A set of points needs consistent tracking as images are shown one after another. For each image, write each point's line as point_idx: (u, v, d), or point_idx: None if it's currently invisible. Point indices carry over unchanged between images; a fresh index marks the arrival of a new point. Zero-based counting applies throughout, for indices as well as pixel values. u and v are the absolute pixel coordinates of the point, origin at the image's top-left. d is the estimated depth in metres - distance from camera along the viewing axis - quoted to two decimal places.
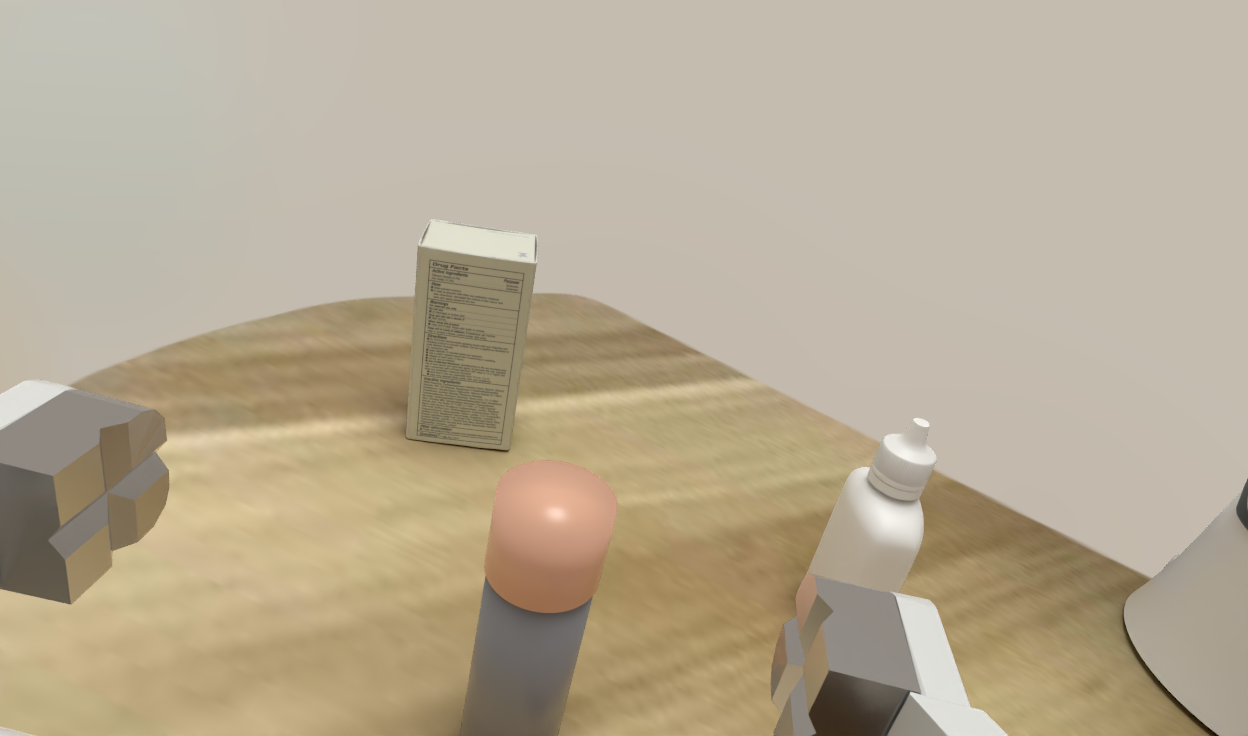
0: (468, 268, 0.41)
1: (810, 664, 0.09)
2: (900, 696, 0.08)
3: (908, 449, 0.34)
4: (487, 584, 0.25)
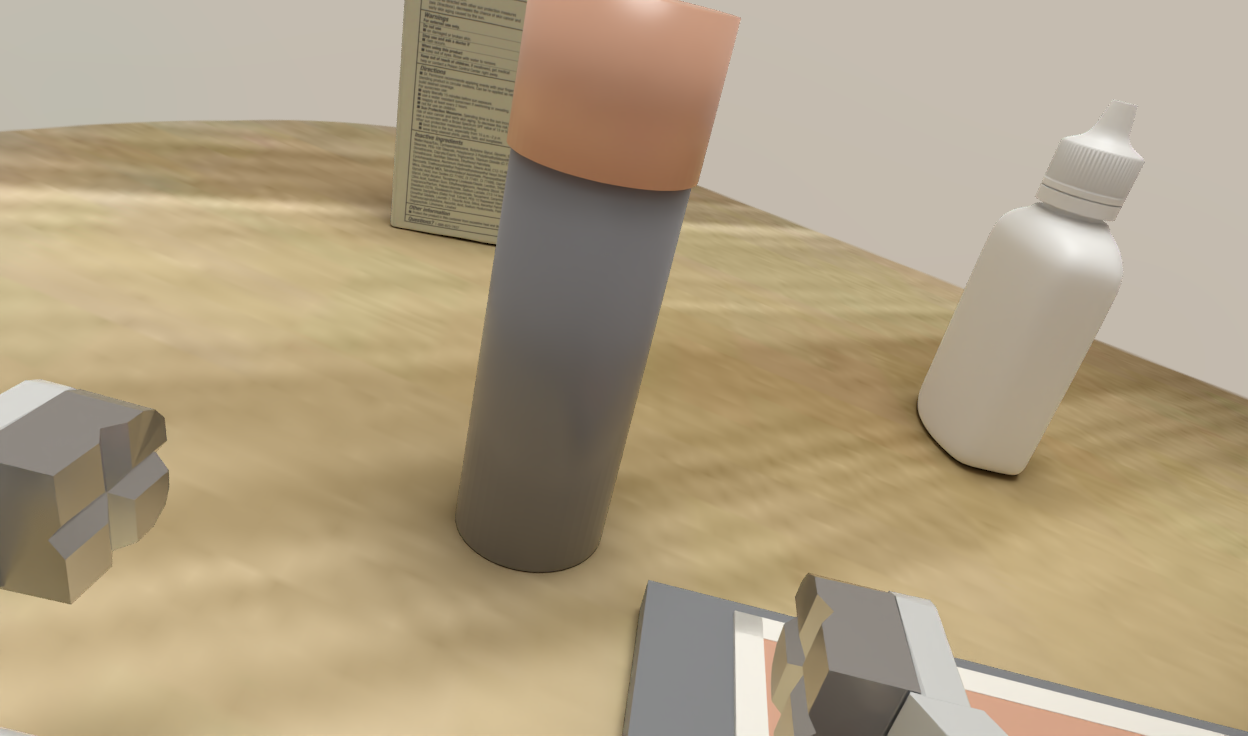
0: None
1: (810, 664, 0.09)
2: (900, 696, 0.08)
3: (1106, 140, 0.24)
4: (511, 167, 0.15)
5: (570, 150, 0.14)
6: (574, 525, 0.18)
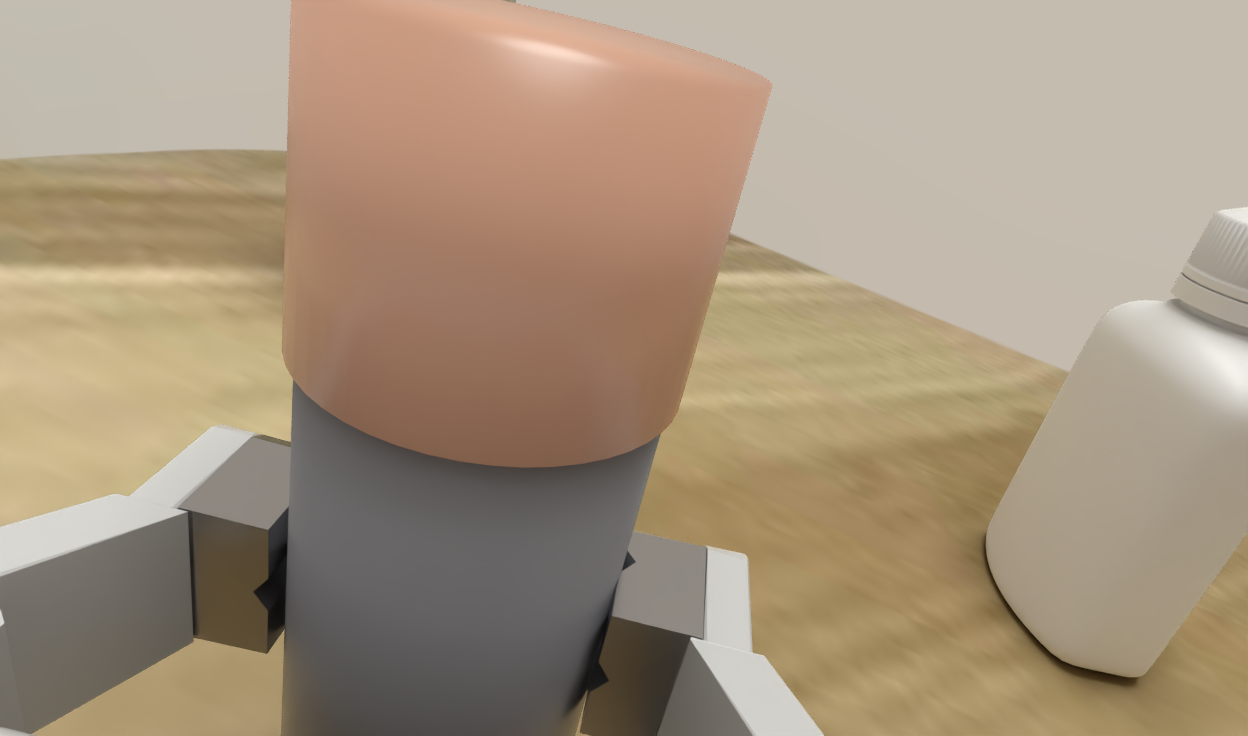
0: None
1: (609, 613, 0.09)
2: (683, 641, 0.08)
3: None
4: None
5: (383, 393, 0.06)
6: None
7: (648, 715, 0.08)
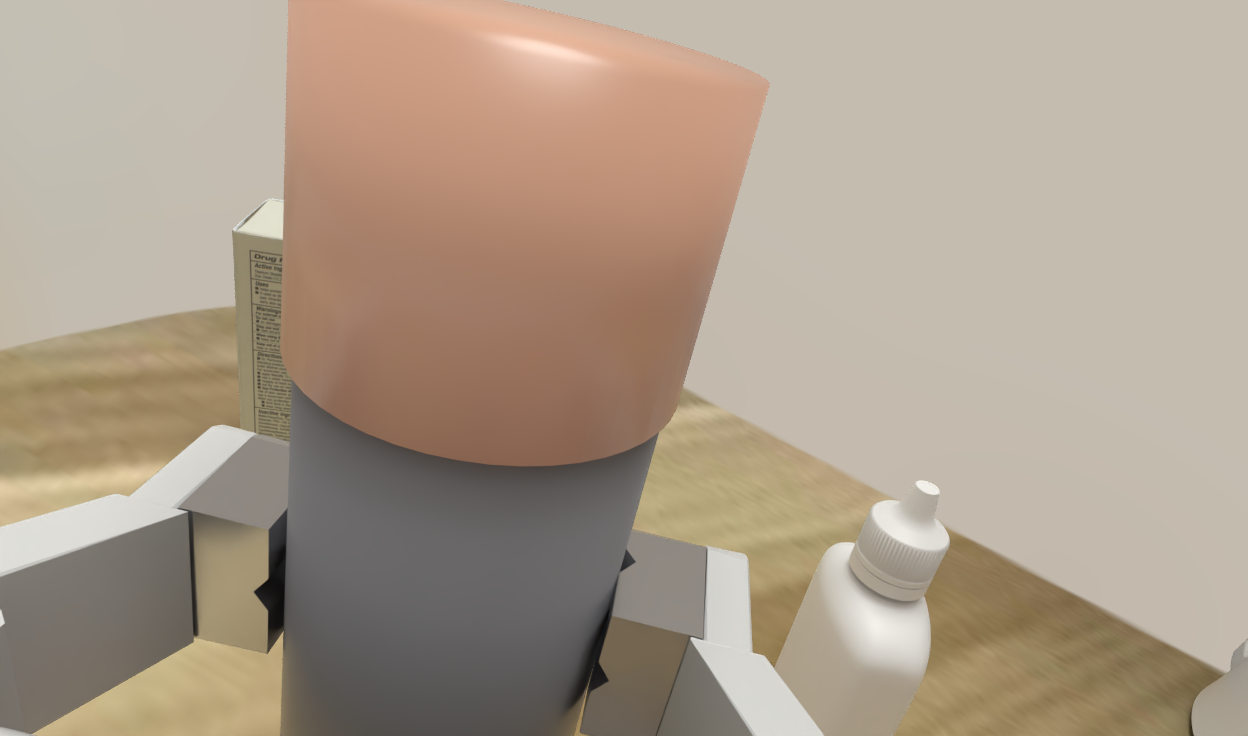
0: None
1: (609, 613, 0.09)
2: (683, 641, 0.08)
3: (908, 527, 0.23)
4: None
5: (380, 391, 0.06)
6: None
7: (648, 715, 0.08)
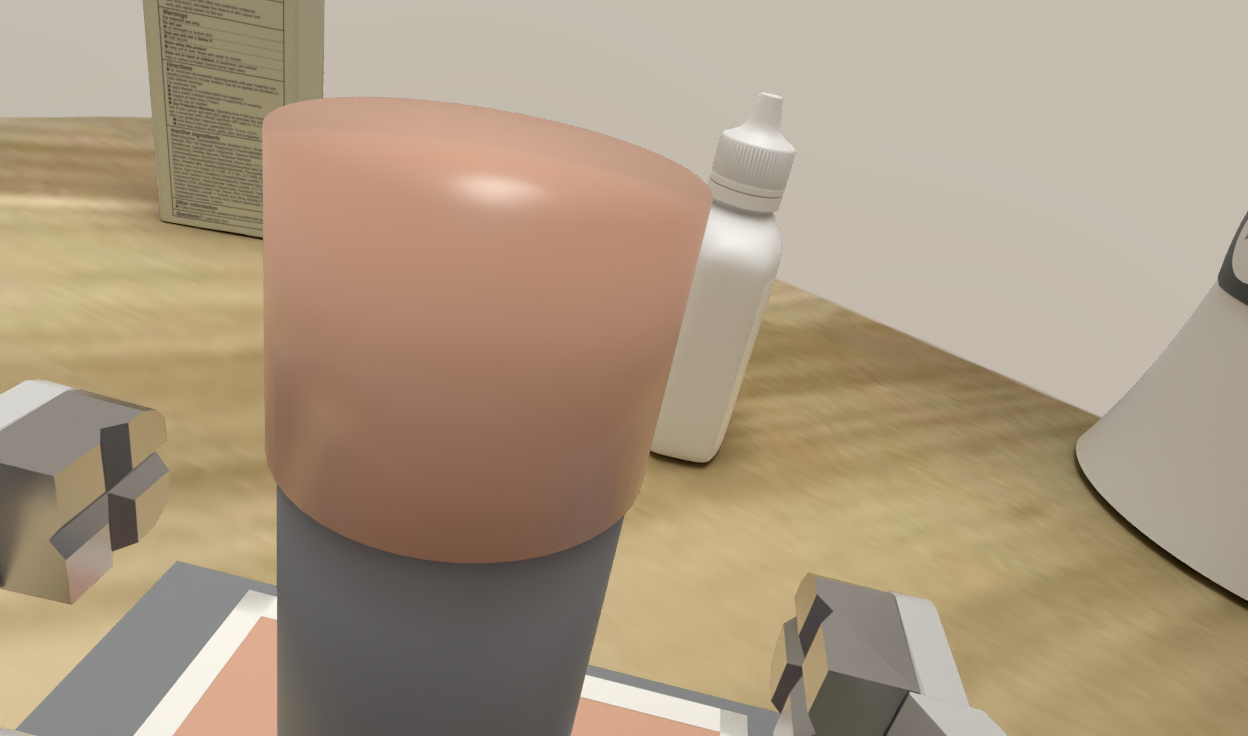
0: None
1: (809, 664, 0.09)
2: (899, 696, 0.08)
3: (753, 132, 0.24)
4: None
5: (354, 499, 0.06)
6: None
7: None
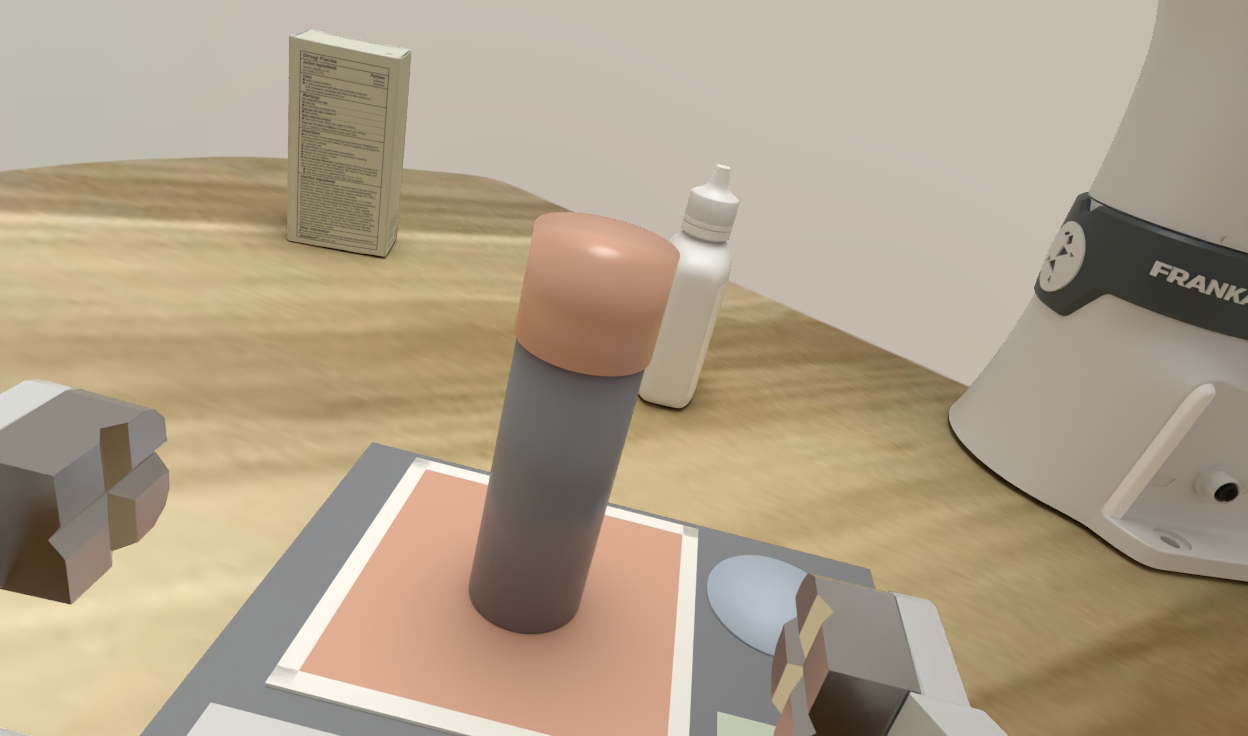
0: (336, 61, 0.44)
1: (810, 663, 0.09)
2: (900, 696, 0.08)
3: (711, 190, 0.38)
4: (518, 352, 0.21)
5: (560, 351, 0.20)
6: (559, 599, 0.24)
7: None
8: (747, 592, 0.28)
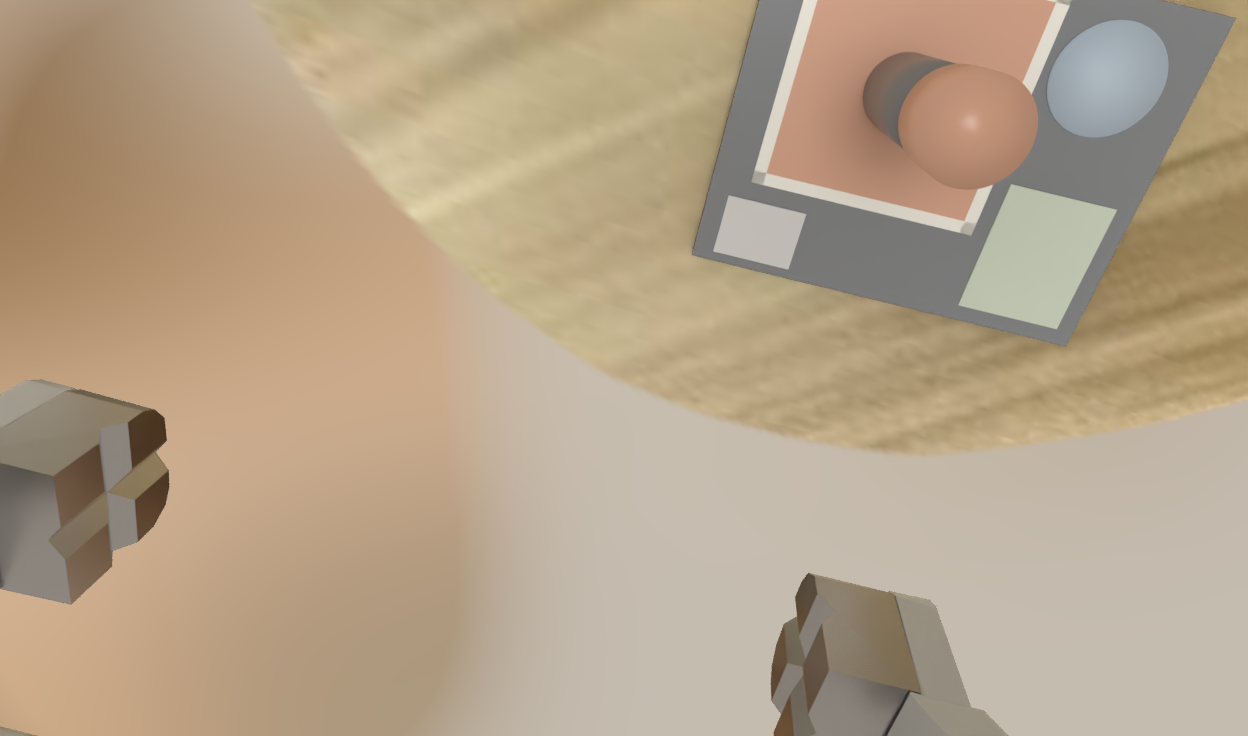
0: None
1: (810, 664, 0.09)
2: (900, 696, 0.08)
3: None
4: None
5: None
6: None
7: None
8: (1087, 67, 0.36)
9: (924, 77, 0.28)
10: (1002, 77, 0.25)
